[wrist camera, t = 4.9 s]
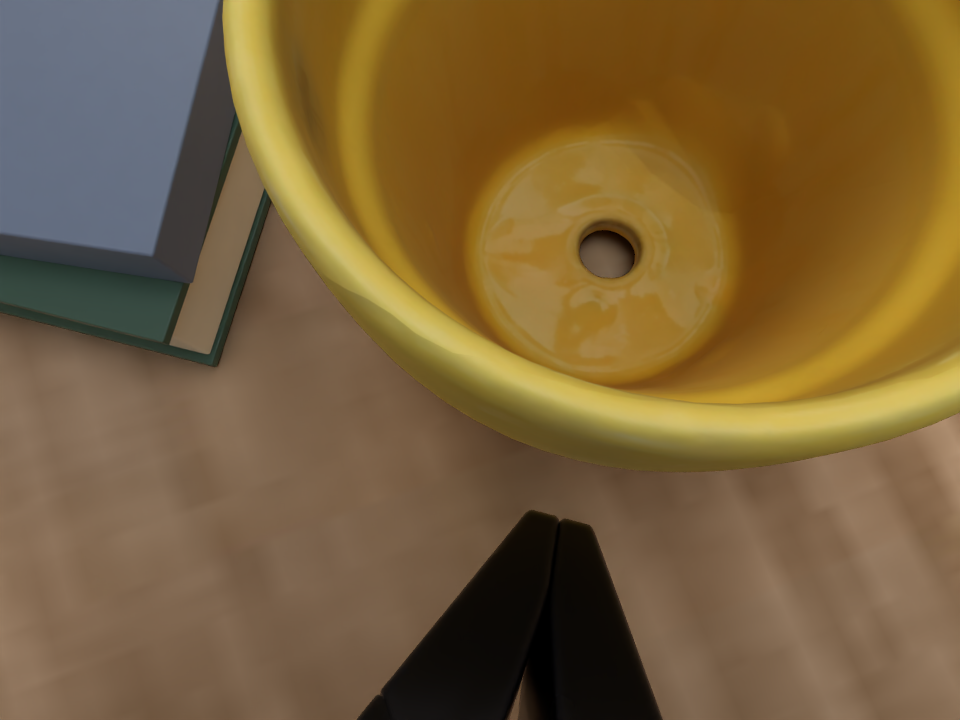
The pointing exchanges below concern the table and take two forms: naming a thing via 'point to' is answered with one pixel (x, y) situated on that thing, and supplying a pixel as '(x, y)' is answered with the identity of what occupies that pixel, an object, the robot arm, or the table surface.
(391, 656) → the table surface
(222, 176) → the books
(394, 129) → the flower pot
